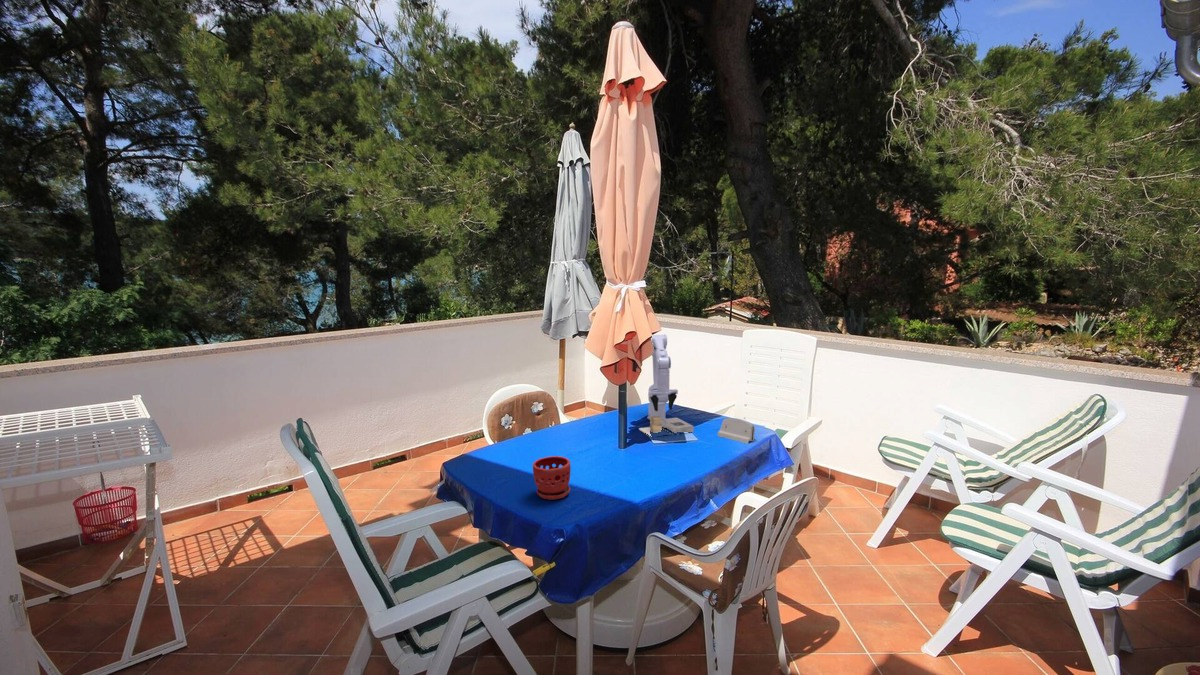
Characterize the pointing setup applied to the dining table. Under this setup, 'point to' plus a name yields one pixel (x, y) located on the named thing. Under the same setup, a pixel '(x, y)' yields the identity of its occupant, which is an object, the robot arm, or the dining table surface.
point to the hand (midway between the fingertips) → (663, 409)
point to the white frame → (676, 425)
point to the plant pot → (552, 477)
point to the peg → (655, 424)
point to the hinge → (737, 430)
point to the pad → (646, 430)
